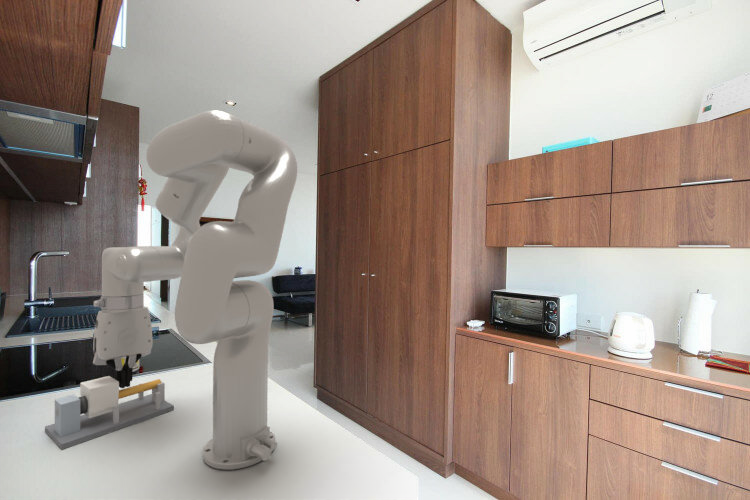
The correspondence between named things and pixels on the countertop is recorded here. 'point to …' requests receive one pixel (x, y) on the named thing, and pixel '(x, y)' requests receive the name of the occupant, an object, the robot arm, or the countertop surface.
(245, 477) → the countertop surface
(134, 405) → the linear actuator
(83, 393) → the white sliding carriage
